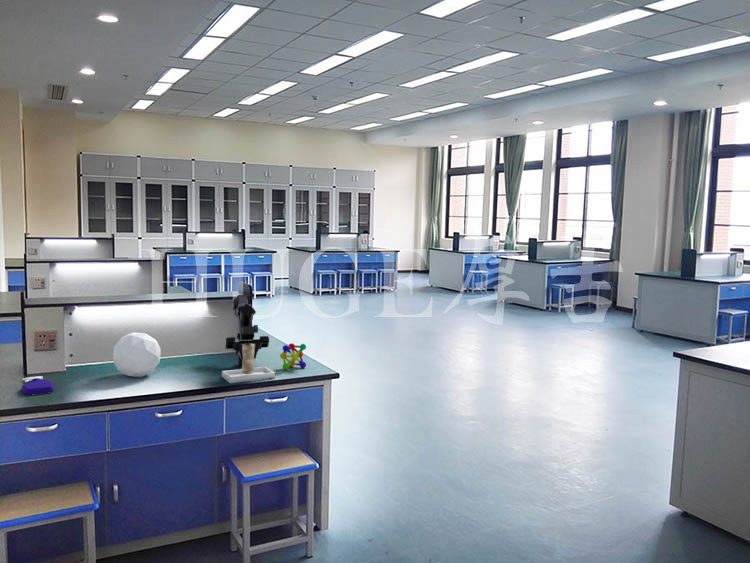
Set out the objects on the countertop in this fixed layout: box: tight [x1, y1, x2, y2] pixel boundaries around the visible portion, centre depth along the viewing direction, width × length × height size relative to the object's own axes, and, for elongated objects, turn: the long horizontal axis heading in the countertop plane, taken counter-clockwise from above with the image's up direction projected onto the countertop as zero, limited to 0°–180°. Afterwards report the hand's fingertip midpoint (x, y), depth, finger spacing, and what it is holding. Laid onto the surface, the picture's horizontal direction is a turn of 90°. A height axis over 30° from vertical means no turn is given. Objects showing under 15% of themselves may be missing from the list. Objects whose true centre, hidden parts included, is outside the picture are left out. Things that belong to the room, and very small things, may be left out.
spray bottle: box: [21, 375, 55, 396], centre depth 248 cm, size 3×11×24 cm
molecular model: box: [279, 342, 307, 370], centre depth 288 cm, size 12×7×12 cm, turn 116°
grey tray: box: [221, 366, 276, 384], centre depth 270 cm, size 20×12×2 cm, turn 119°
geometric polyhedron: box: [112, 331, 162, 378], centre depth 268 cm, size 19×20×20 cm
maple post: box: [241, 343, 255, 374], centre depth 269 cm, size 5×5×13 cm
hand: (248, 358), depth 268 cm, fingers open, 5 cm apart
